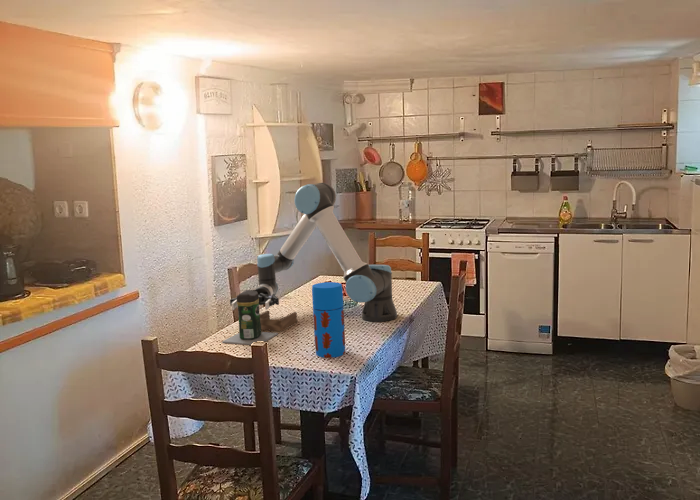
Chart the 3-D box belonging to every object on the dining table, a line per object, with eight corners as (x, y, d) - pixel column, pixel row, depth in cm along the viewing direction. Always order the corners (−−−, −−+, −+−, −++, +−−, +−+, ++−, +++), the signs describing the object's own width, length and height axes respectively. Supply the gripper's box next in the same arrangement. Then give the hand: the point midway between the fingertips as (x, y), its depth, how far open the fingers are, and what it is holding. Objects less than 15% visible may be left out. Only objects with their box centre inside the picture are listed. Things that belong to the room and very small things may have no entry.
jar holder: (297, 322, 287) (296, 312, 286) (281, 331, 274) (280, 320, 273) (267, 320, 292) (266, 310, 292) (250, 329, 279) (250, 318, 279)
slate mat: (278, 334, 270) (278, 332, 270) (258, 345, 255) (258, 344, 255) (243, 331, 276) (243, 330, 276) (222, 342, 261) (222, 341, 261)
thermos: (341, 358, 235) (338, 288, 231) (312, 357, 237) (308, 288, 234) (348, 349, 246) (344, 281, 242) (319, 348, 248) (316, 282, 244)
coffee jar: (244, 333, 271) (241, 288, 268) (263, 333, 269) (260, 288, 267) (236, 340, 261) (233, 293, 259) (256, 340, 260) (253, 293, 257)
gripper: (291, 302, 285) (280, 315, 264) (234, 303, 288) (219, 316, 267) (290, 285, 284) (279, 296, 263) (233, 286, 287) (218, 297, 266)
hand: (249, 306), depth 265 cm, fingers open, 13 cm apart
